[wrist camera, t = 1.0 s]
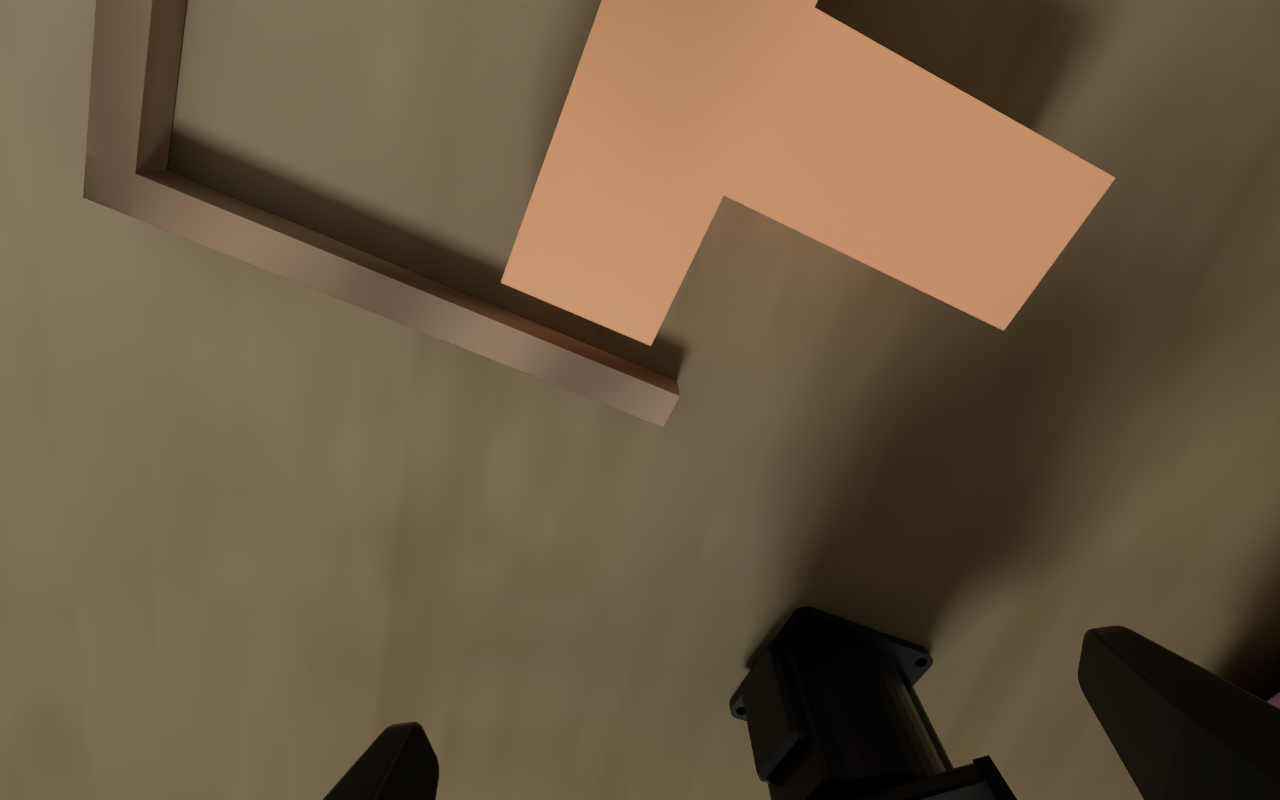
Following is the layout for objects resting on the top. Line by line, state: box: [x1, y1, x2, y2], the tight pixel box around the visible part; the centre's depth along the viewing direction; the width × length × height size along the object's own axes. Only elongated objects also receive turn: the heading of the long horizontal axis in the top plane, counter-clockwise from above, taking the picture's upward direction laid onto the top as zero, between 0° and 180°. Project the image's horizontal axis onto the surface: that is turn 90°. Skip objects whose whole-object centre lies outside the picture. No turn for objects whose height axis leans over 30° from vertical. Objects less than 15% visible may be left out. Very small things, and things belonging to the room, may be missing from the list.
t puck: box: [501, 0, 1115, 346], centre depth 15 cm, size 12×12×4 cm
